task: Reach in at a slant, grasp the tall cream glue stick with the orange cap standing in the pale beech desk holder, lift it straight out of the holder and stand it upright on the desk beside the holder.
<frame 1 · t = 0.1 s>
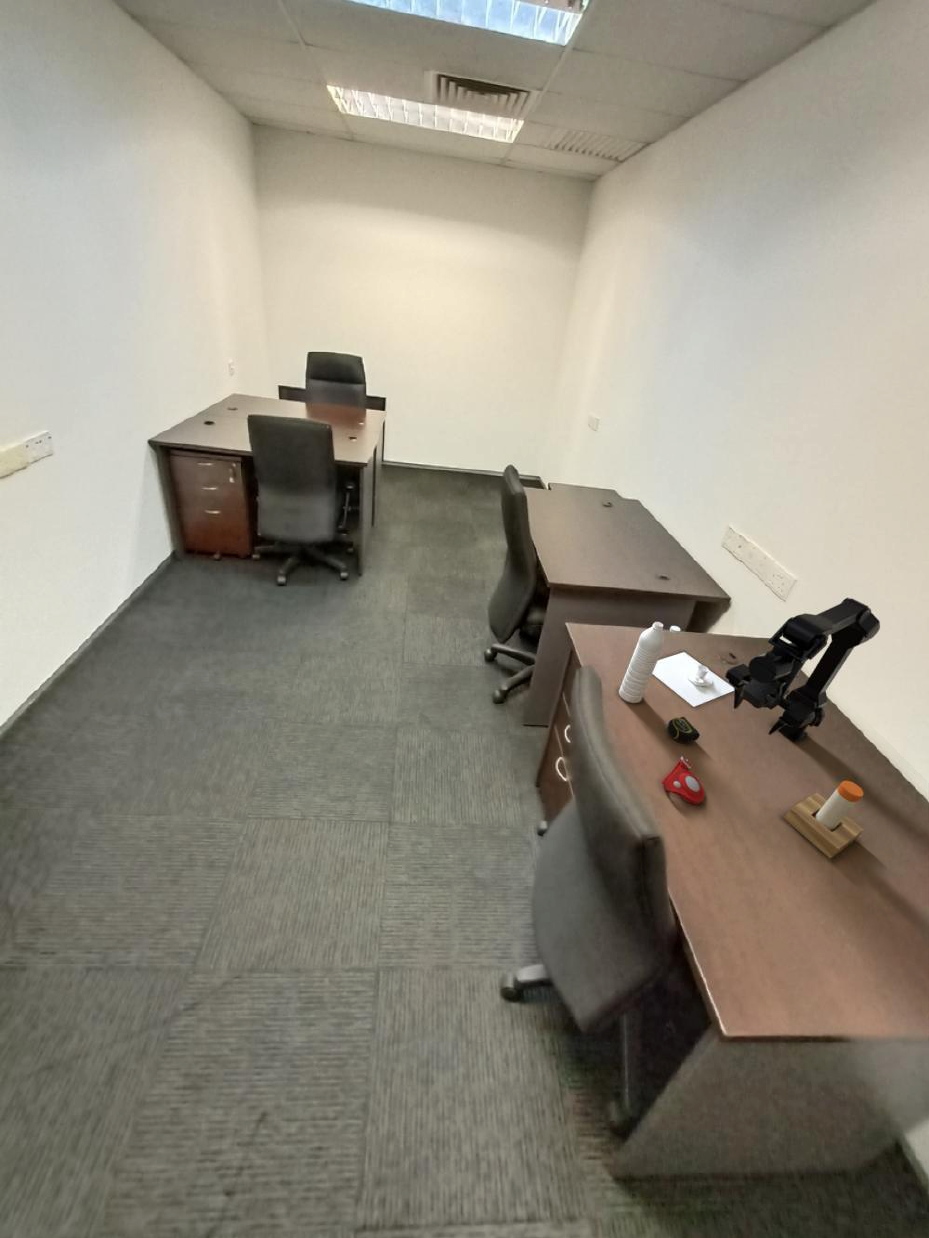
hand: (752, 720, 120), 15 cm above the table, tool pointing down, fingers open, 9 cm apart
glue stick: (819, 828, 115), resting in holder
tape measure: (679, 734, 135), on the table
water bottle: (633, 697, 145), on the table
teacup and saucer: (688, 677, 157), on the table
tracker holder: (683, 785, 120), on the table
holder: (819, 828, 114), on the table
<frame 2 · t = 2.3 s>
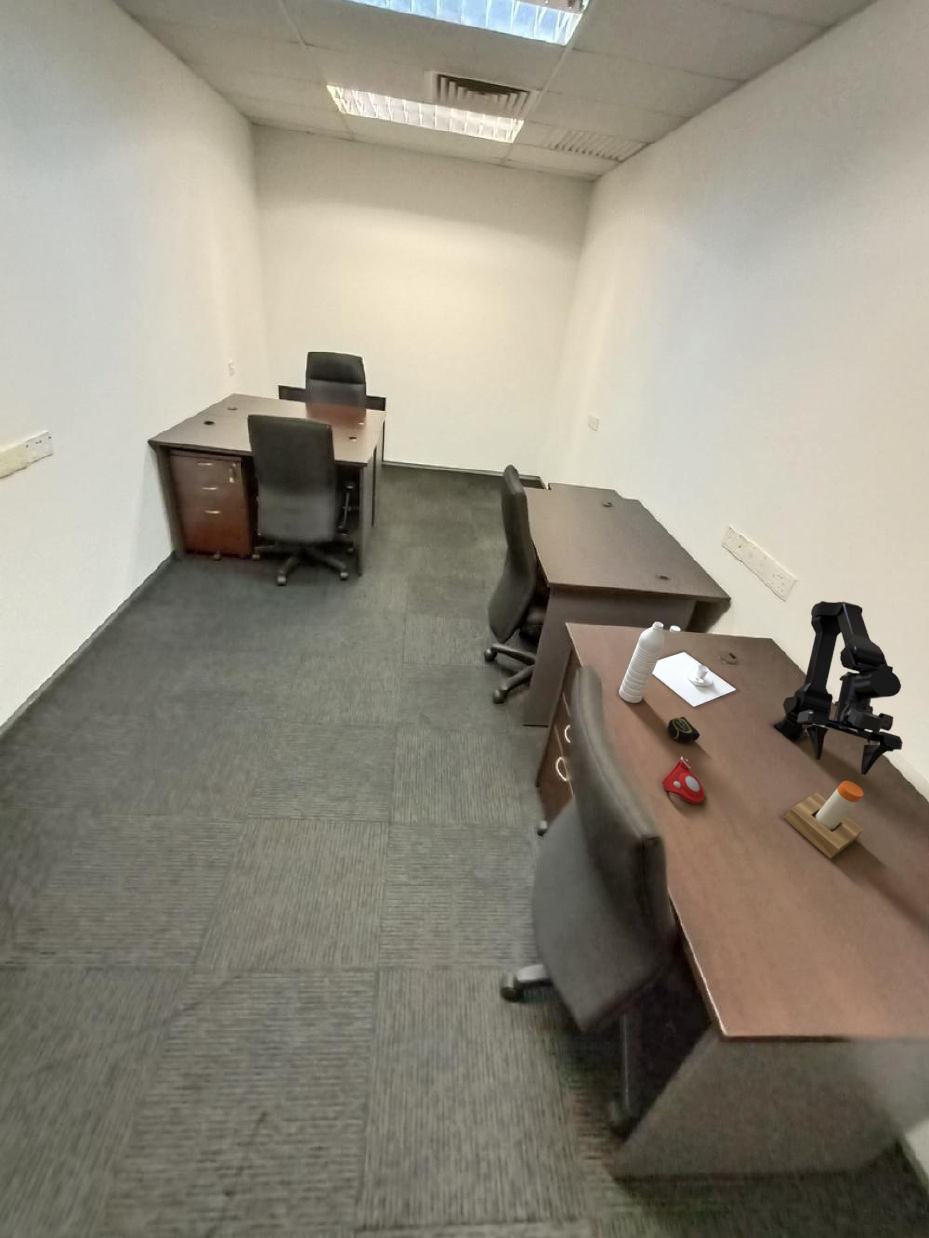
hand: (840, 767, 113), 13 cm above the table, tool tilted 45°, fingers open, 9 cm apart
nothing on the table moved.
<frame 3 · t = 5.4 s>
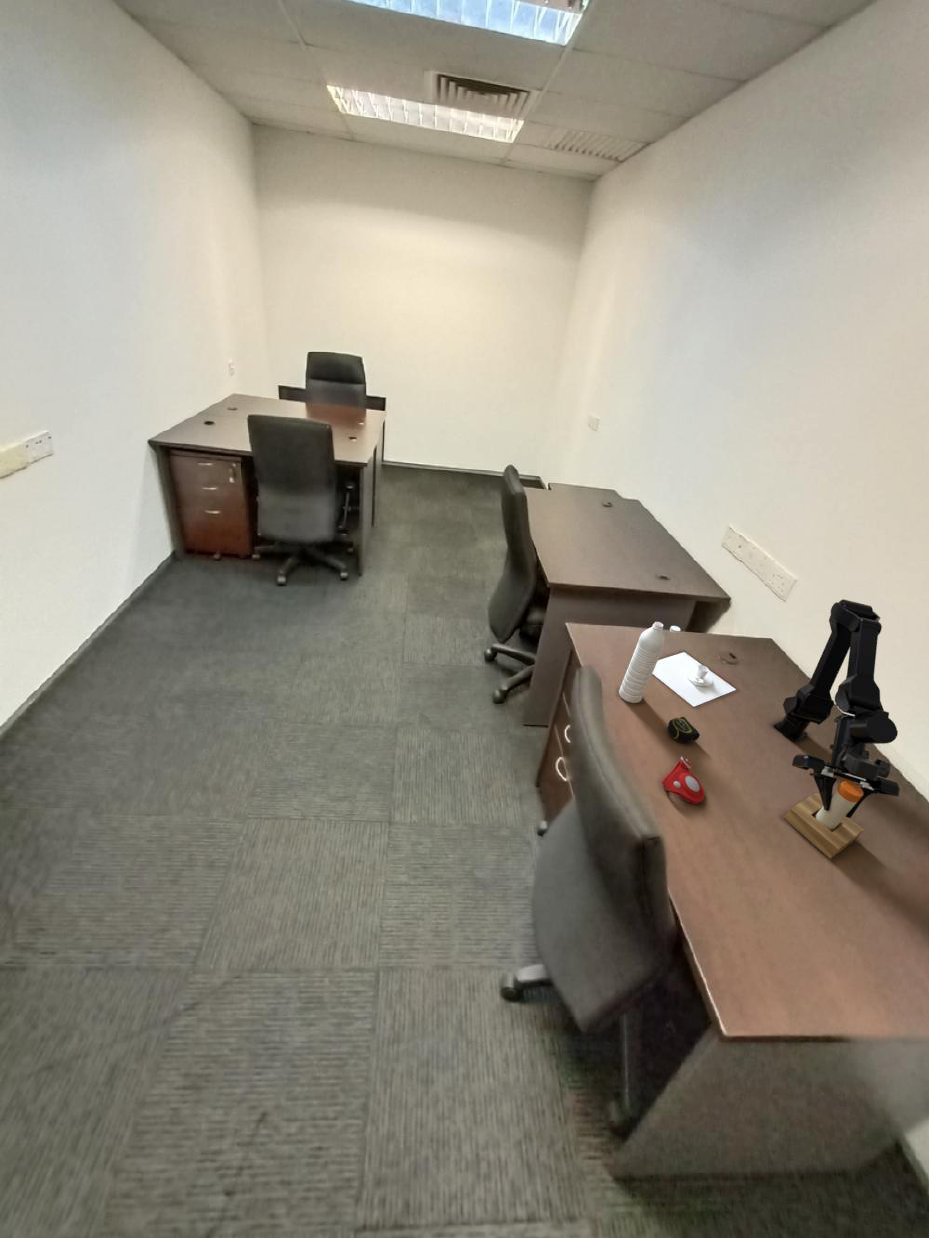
hand: (837, 814, 110), 7 cm above the table, tool tilted 45°, fingers closed on glue stick, 4 cm apart
glue stick: (819, 828, 114), resting in holder, touching gripper
everything else where it was.
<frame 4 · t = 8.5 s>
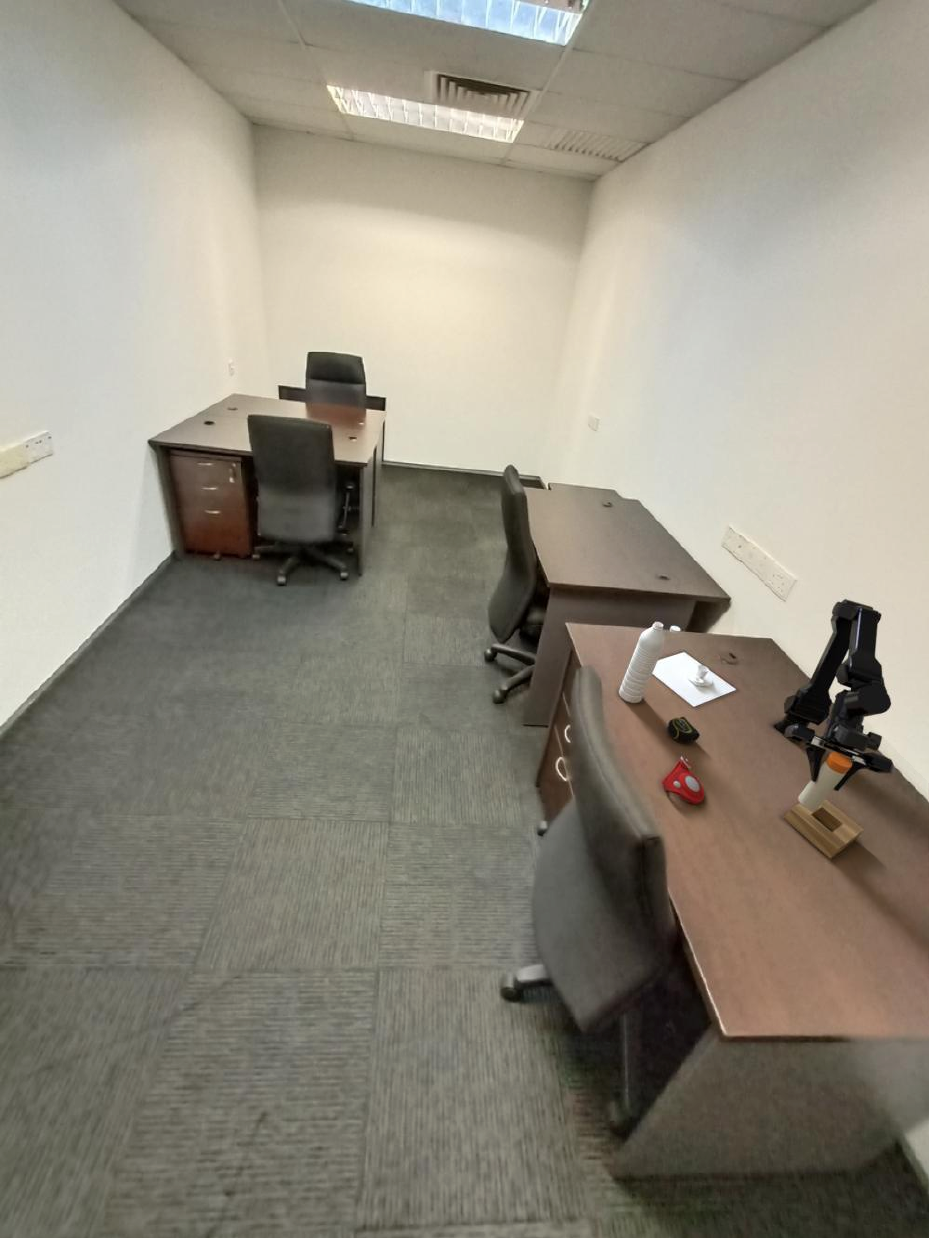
hand: (824, 786, 108), 13 cm above the table, tool tilted 45°, fingers closed on glue stick, 4 cm apart
glue stick: (808, 802, 113), point 6 cm above the table, touching gripper
everything else where it was.
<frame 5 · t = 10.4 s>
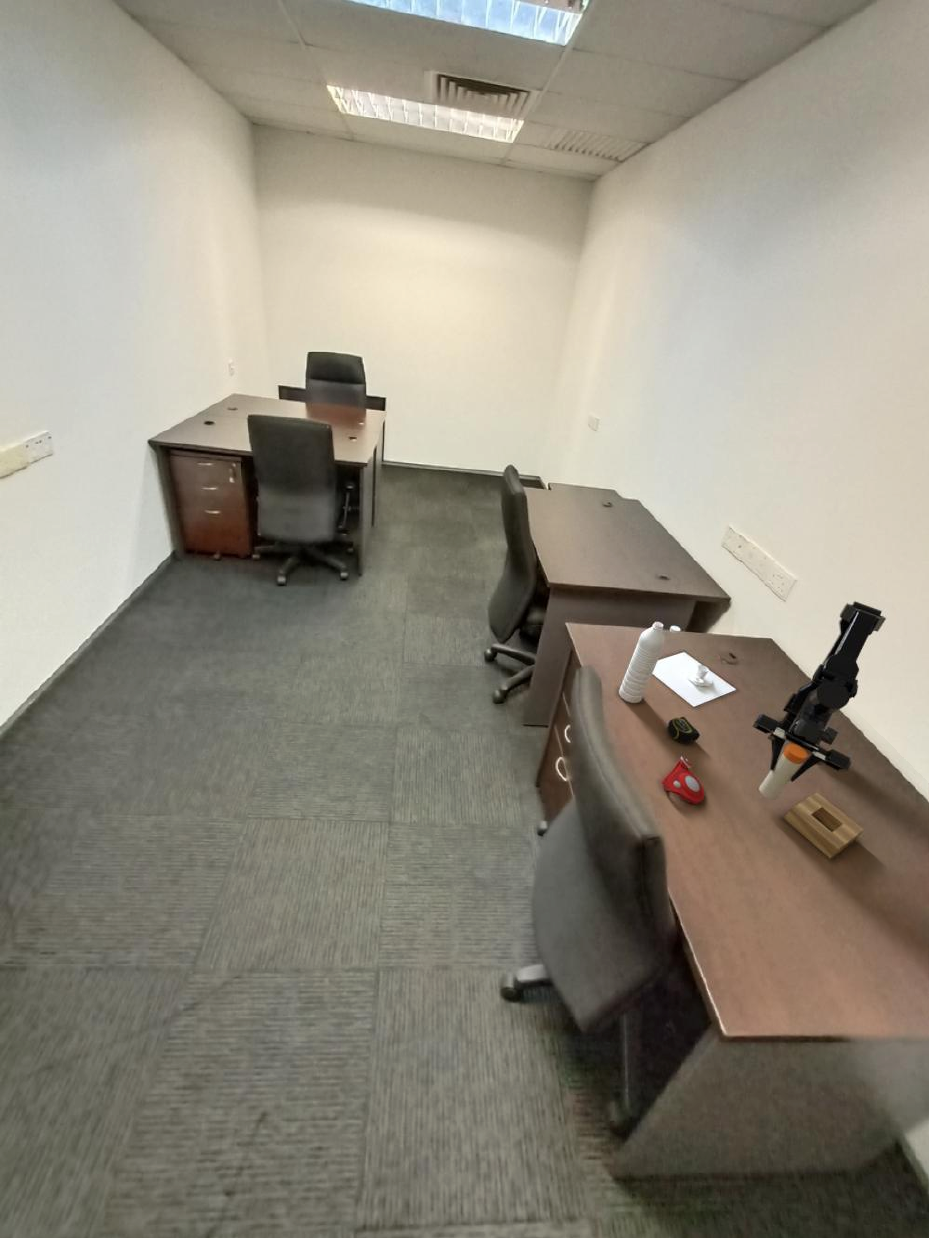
hand: (781, 775, 112), 10 cm above the table, tool tilted 45°, fingers closed on glue stick, 4 cm apart
glue stick: (768, 792, 117), point 3 cm above the table, touching gripper
everything else where it was.
when the fingers open (7 cm above the table, at t = 11.7 s): glue stick stays where it is, on the table.
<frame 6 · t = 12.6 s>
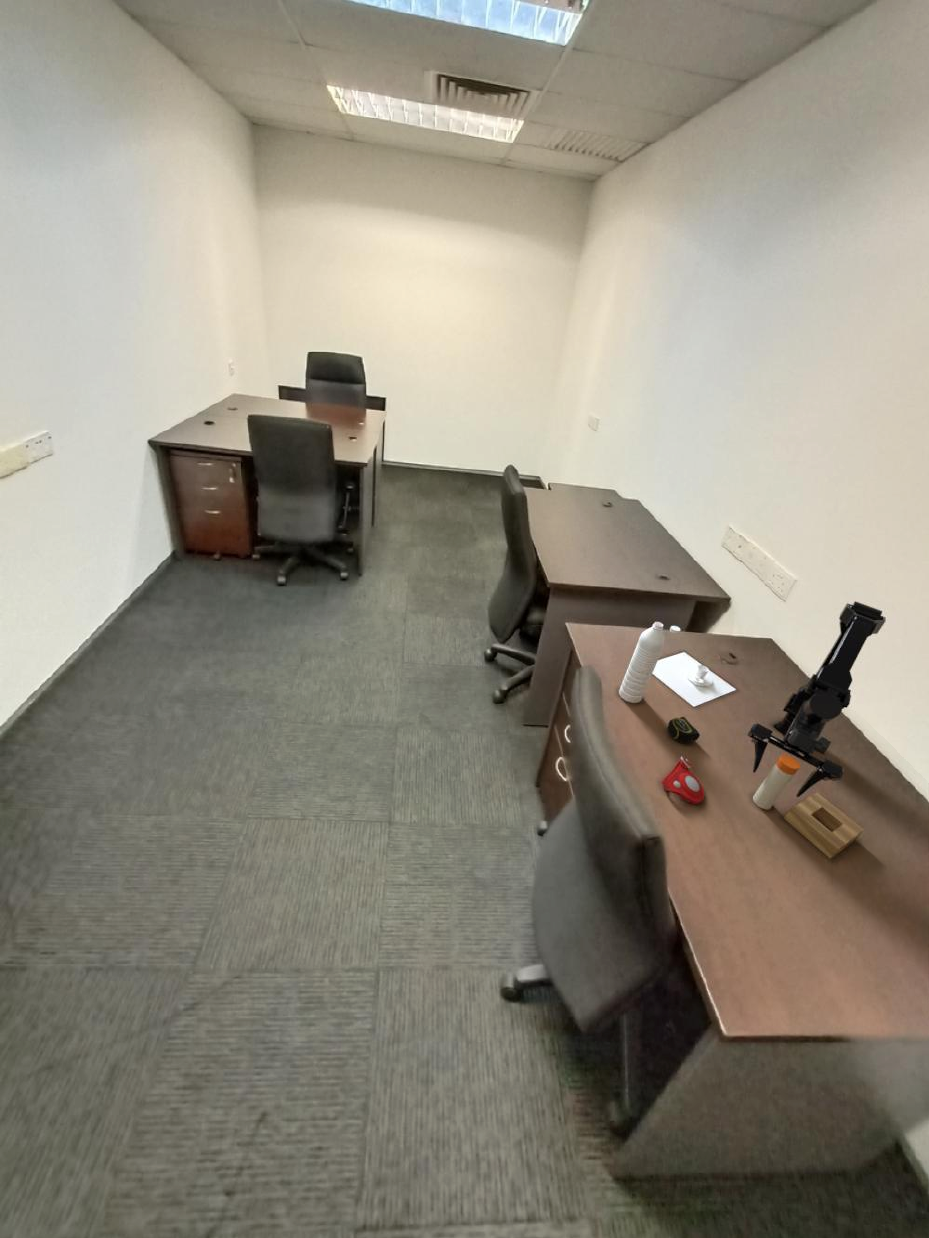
hand: (775, 784, 114), 8 cm above the table, tool tilted 45°, fingers open, 9 cm apart
glue stick: (761, 802, 119), on the table
everything else where it was.
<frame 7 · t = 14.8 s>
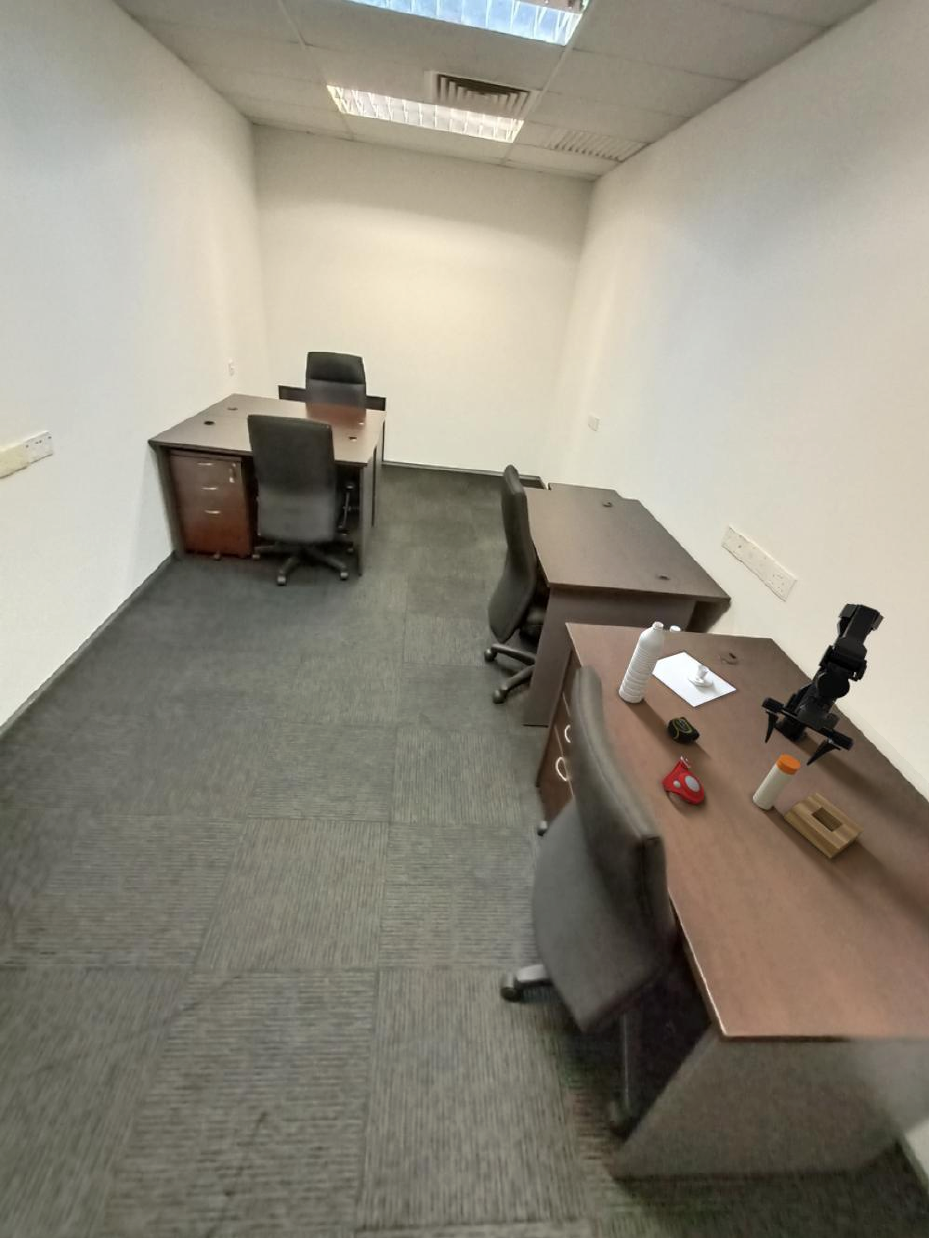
hand: (785, 753, 119), 10 cm above the table, tool tilted 30°, fingers open, 9 cm apart
nothing on the table moved.
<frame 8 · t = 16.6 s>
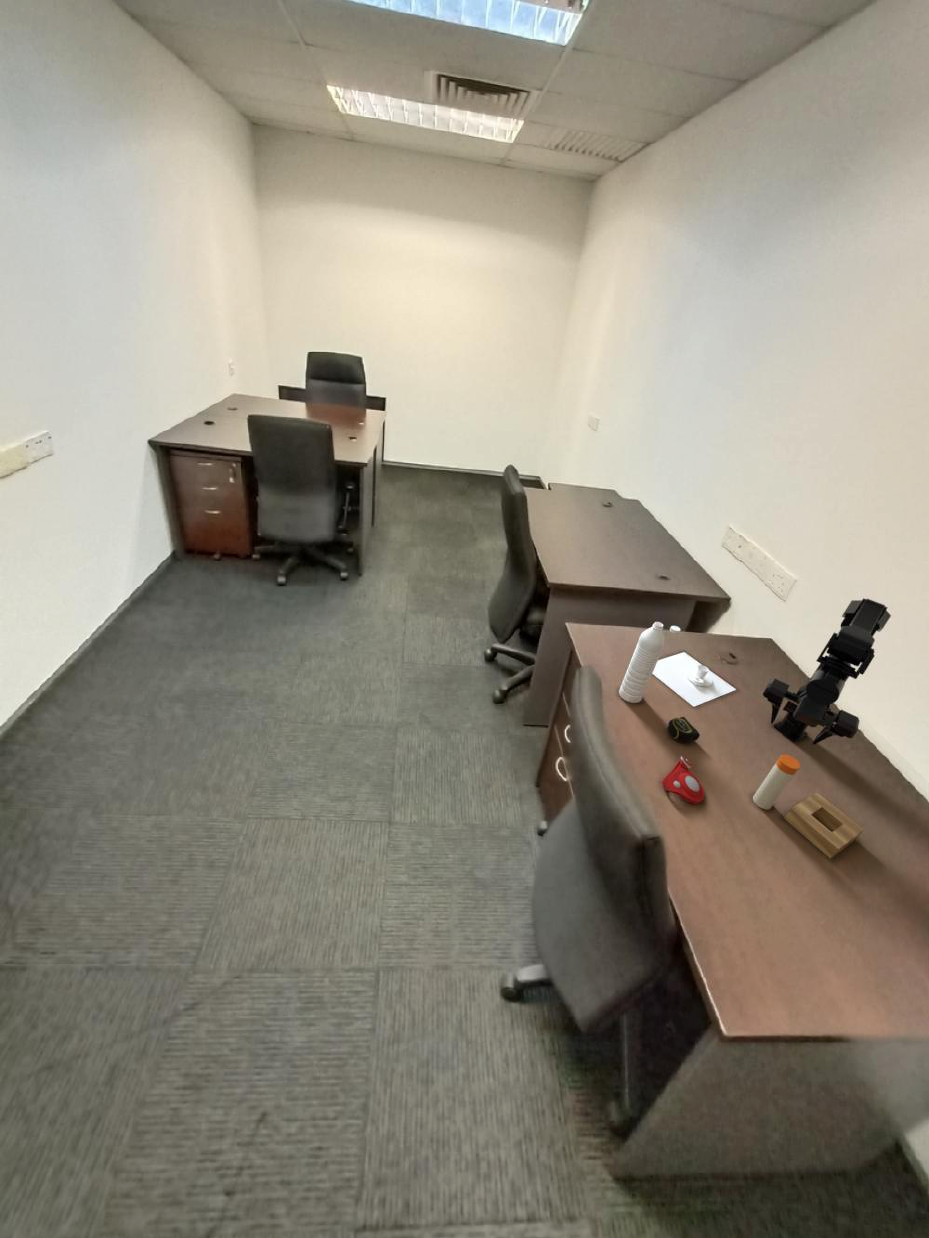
hand: (792, 732, 121), 13 cm above the table, tool pointing down, fingers open, 9 cm apart
nothing on the table moved.
at the end: glue stick 0.1 cm from the target spot, on the table; glue stick tilted 0°; the gripper is holding nothing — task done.
